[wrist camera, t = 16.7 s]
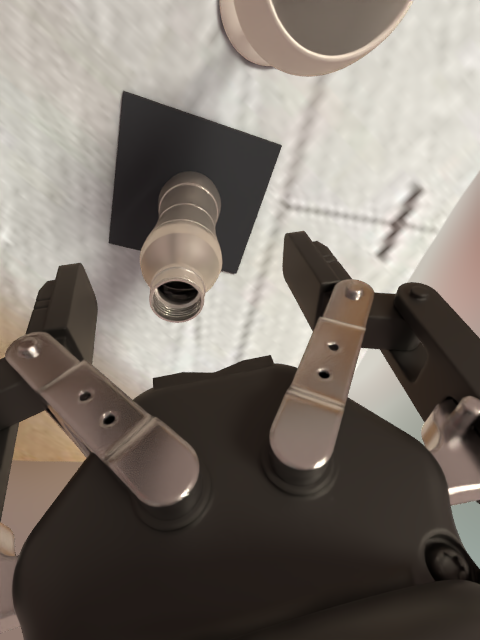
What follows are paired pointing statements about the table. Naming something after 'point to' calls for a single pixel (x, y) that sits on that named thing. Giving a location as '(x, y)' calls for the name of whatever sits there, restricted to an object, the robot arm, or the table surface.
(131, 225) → the felt mat
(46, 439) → the table surface
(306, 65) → the wineglass
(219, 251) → the plastic bottle
